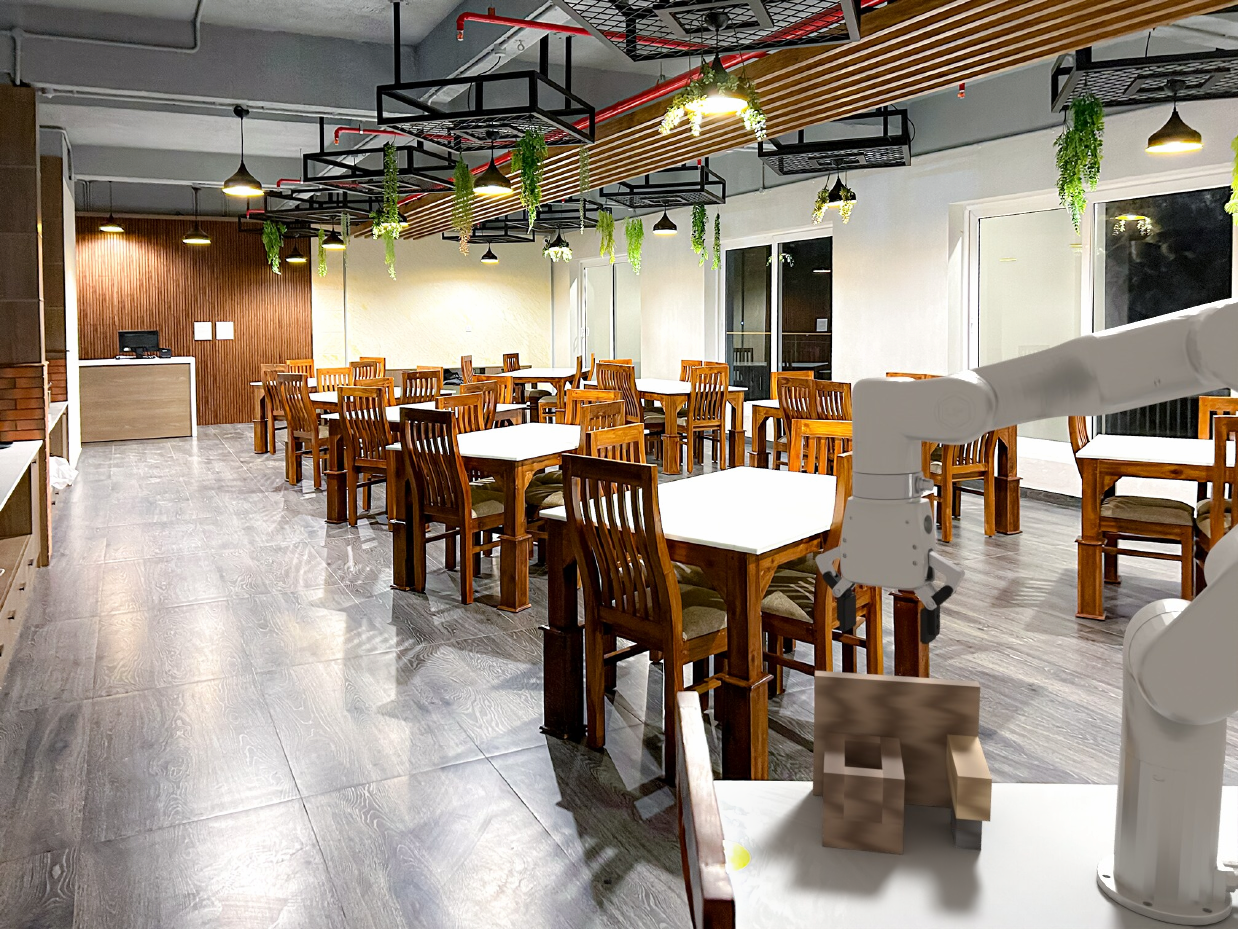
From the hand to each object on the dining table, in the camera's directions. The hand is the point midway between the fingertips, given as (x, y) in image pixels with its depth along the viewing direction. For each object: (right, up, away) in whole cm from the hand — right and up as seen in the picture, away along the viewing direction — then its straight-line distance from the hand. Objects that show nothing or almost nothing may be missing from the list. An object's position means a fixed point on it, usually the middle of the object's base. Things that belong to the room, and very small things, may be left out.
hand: (887, 634), depth 112 cm
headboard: (+3, -24, +7) cm, 25 cm away
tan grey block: (+10, -25, +4) cm, 27 cm away
